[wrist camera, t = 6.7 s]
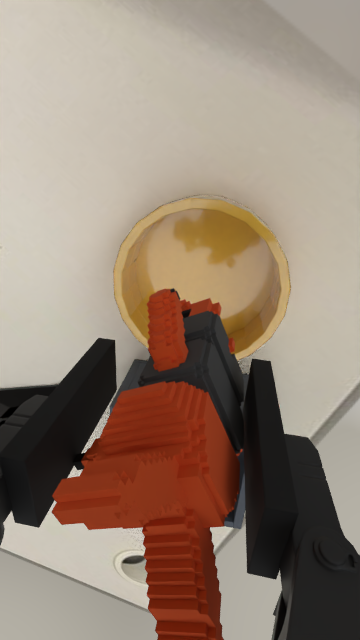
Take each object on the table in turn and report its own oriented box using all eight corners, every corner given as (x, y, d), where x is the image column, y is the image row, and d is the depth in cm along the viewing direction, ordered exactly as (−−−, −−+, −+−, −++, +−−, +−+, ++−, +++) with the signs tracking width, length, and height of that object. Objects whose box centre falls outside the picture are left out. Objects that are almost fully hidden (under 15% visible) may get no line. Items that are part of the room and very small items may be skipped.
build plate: (70, 382, 35) (49, 410, 31) (89, 432, 38) (72, 463, 34) (-21, 390, 38) (-52, 416, 34) (3, 436, 41) (-23, 465, 37)
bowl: (296, 201, 24) (309, 206, 20) (266, 350, 30) (271, 377, 26) (129, 189, 26) (110, 191, 22) (130, 333, 31) (115, 356, 27)
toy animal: (113, 285, 17) (-110, 477, 6) (207, 250, 15) (114, 434, 5) (171, 399, 20) (82, 670, 9) (256, 381, 18) (271, 692, 7)
